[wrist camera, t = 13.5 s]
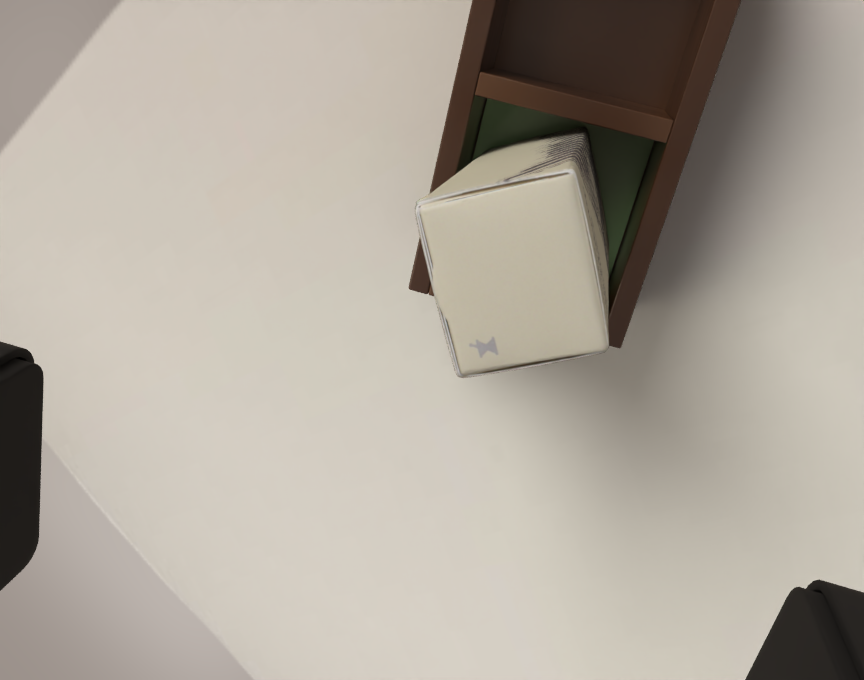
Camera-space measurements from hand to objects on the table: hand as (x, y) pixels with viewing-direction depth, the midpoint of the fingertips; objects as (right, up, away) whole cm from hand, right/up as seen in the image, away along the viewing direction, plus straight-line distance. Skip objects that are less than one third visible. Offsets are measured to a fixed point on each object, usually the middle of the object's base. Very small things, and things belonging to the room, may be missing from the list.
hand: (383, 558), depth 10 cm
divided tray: (+6, +12, +22) cm, 26 cm away
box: (+5, +9, +23) cm, 25 cm away
